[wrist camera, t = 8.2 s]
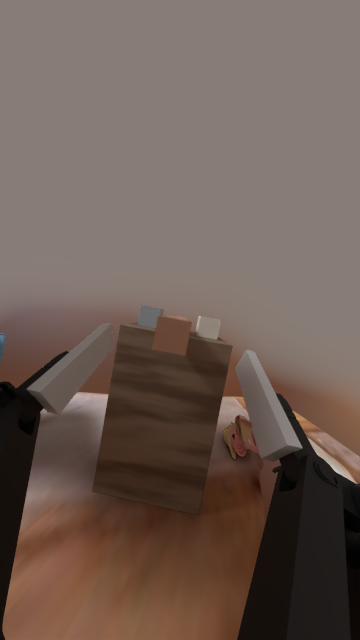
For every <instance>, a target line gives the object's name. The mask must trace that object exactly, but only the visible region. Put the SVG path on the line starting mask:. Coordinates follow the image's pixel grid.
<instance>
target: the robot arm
mask: <svg viewBox="0 0 360 640" xmlns="http://www.w3.org/2000/svg"><path fill="white" fill-rule="evenodd" d="M5 342H6V335H5V334H3V333H0V363H1V360H2V356H3V351H4V348H5ZM114 346H115V340H114V334H113V329H112V324H109V323H103V324H102V325H101V326H99V327H98V328H97V329H96V330H95V331H94V332H92V333H91V334H90V335H89V336H88V337H87V338H85V339H84V340H83V341H82V342H81V343H80V344H78V345H77V346H76V347H75V348H74V349H73V350H72V351H70V352H67V351H65V352H63V353H62V354H59V355H58V356H56V357H55V358H54V359H52V360H51V361H50V363H47V364H46V365H45V366H44V367H43V368H41V369H40V370H39V371H38V372H37V373H35V374H34V375H33V376H31V377H30V378H29V379H28V380H27V381H25V382H24V383H23V384H21V385H20V386H19V387H18V388H15V387H14V386H13V385H12V384H11V383H9V382H0V640H5V637H4V635H3V632H2V624H3V616H4V611H5V606H6V600H7V595H8V589H9V584H10V579H11V573H12V568H13V562H14V557H15V552H16V546H17V541H18V535H19V530H20V525H21V519H22V514H23V508H24V503H25V497H26V492H27V487H28V481H29V476H30V470H31V465H32V460H33V454H34V449H35V443H36V438H37V433H38V427H39V422H40V416H41V415H40V411H41V410H42V409H43V408H44V409H45V410H46V411H47V412H50V413H55V414H60V413H61V411H62V410H63V409H64V408H65V406H66V405H67V404H68V403H69V401H70V400H71V399H72V398H73V396H74V395H75V394H76V393H77V391H78V390H79V389H80V388H81V386H82V385H83V384H84V383H85V382H86V380H87V379H88V378H89V377H90V375H91V374H92V373H93V372H94V370H95V369H96V368H97V367H98V366H99V364H100V363H101V362H102V361H103V359H104V358H105V357H106V355H107V354H108V353H109V352H110V351H111V349H112V348H113V347H114ZM235 369H236V373H237V376H238V380H239V383H240V387H241V390H242V394H243V397H244V401H245V404H246V408H247V411H248V415H249V418H250V422H251V425H252V429H253V432H254V436H255V439H256V443H257V446H258V450H259V453H260V457H261V459H265V460H269V461H276V460H278V459H279V460H280V463H281V466H278V467H276V468H274V469H273V472H274V473H276V472H278V475H277V479H276V483H275V487H274V492H273V496H272V500H271V504H270V508H269V512H268V516H267V520H266V524H265V528H264V532H263V536H262V540H261V545H260V549H259V553H258V557H257V561H256V565H255V569H254V573H253V577H252V581H251V585H250V590H249V594H248V598H247V602H246V606H245V610H244V614H243V618H242V622H241V626H240V630H239V635H238V639H237V640H360V484H355V483H354V482H352V481H350V480H348V479H347V478H345V477H343V476H341V475H340V474H338V473H336V472H335V471H334V470H333V469H332V468H331V466H330V465H329V464H328V463H327V462H326V461H325V460H324V459H322V458H321V457H319V456H318V455H317V454H316V452H315V451H314V449H313V447H312V446H311V444H310V442H309V440H308V438H307V437H306V435H305V433H304V431H303V429H302V427H301V426H300V424H299V422H298V420H296V417H295V415H294V413H293V412H292V409H291V408H290V406H289V404H288V402H287V401H286V400H285V399H284V398H283V396H282V395H281V394H277V393H275V392H274V390H273V388H272V386H271V384H270V382H269V380H268V378H267V376H266V374H265V372H264V370H263V368H262V366H261V364H260V362H259V360H258V358H257V356H256V354H255V352H254V351H249V350H246V351H245V353H244V354H243V356H242V358H241V360H240V361H239V363H238V365H237V366H236V368H235Z"/></svg>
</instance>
